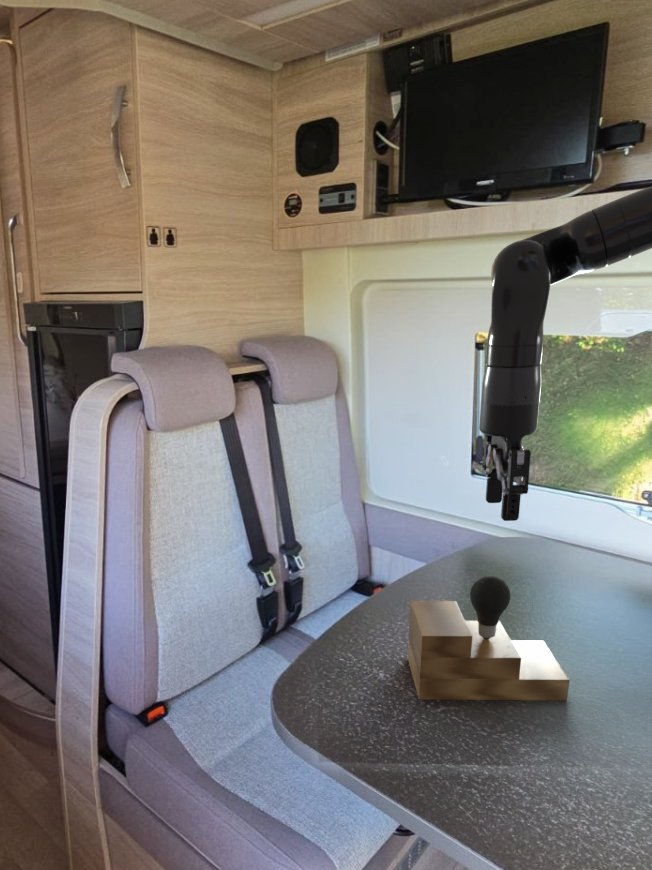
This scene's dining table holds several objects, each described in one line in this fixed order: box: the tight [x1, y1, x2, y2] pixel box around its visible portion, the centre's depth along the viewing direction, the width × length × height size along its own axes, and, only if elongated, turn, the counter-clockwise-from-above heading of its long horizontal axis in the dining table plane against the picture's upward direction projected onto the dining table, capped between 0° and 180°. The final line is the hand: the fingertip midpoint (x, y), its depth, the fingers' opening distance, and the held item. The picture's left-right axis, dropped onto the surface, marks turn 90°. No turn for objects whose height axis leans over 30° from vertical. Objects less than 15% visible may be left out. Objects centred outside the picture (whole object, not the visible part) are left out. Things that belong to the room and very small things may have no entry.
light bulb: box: [469, 575, 511, 640], centre depth 107 cm, size 6×6×10 cm
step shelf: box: [407, 600, 570, 702], centre depth 109 cm, size 21×12×10 cm, turn 85°
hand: (501, 510), depth 104 cm, fingers open, 8 cm apart
